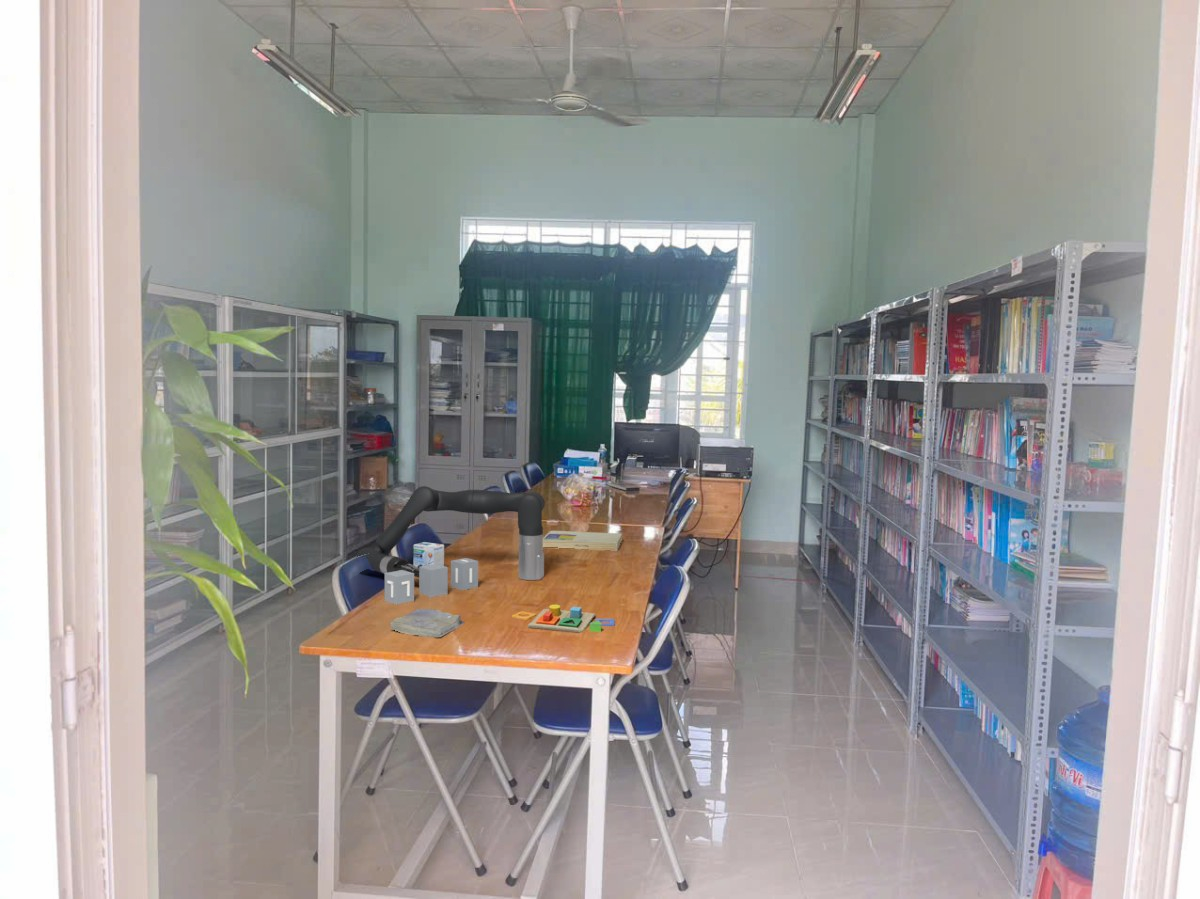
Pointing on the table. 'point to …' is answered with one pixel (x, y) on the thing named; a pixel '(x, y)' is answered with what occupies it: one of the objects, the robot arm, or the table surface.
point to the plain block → (433, 580)
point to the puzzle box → (583, 540)
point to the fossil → (427, 623)
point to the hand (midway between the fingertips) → (422, 574)
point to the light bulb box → (428, 554)
